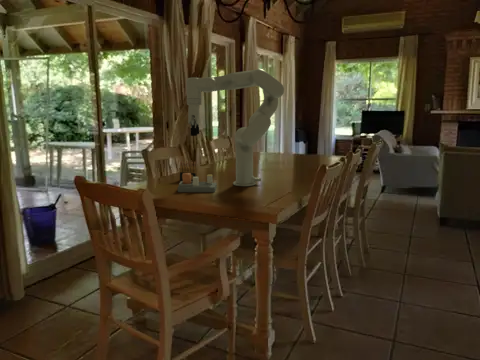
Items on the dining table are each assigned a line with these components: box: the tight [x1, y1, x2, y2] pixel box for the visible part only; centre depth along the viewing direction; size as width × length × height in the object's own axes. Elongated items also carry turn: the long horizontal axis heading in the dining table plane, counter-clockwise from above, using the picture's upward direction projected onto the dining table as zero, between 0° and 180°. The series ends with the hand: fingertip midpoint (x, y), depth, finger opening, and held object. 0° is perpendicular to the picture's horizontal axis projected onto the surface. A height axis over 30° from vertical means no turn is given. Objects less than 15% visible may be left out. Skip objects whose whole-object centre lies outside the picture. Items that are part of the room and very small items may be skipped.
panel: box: [177, 181, 218, 193], centre depth 212 cm, size 19×12×4 cm, turn 89°
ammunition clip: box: [179, 160, 198, 182], centre depth 235 cm, size 11×2×12 cm, turn 70°
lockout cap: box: [182, 173, 191, 184], centre depth 212 cm, size 4×4×6 cm
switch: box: [193, 176, 199, 186], centre depth 208 cm, size 2×3×5 cm
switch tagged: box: [206, 174, 213, 184], centre depth 214 cm, size 2×3×5 cm
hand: (195, 135), depth 213 cm, fingers open, 9 cm apart
